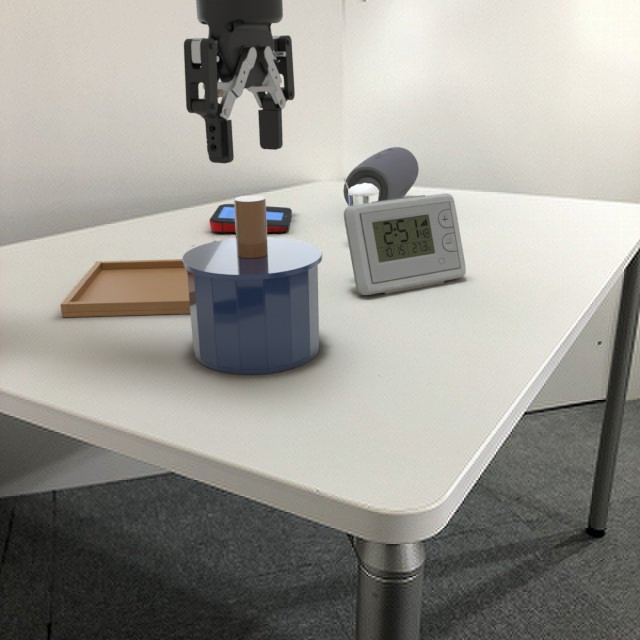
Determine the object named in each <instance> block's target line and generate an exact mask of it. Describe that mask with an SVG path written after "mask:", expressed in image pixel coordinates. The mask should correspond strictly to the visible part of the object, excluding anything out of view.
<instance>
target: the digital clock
mask: <svg viewBox="0 0 640 640" xmlns="http://www.w3.org/2000/svg"><path fill="white" fill-rule="evenodd" d="M343 220H344V227H345V233H346V239H347V244H348V249H349V255H350V260H351V266H352V273H353V278H354V283H355V288H356V290H357V293H358V294H360V295H362V296H371V295H377V294H381V293H382V294H383V295H388V294H393V293H399V292H405V291H410V290H416V289H420V288H426V287H431V286H437V285H441V284H445V281H451V280H455V279H460V278H463V277H464V276H465V275H466V271H467V268H466V261H465V260H466V259H465V254H464V248H463V242H462V235H461V232H460V226H459V219H458V214H457V208H456V204H455V198H454V197H453V195H452V194H450V193H437V194H430V195H425V194H423V195H421V194H420V195H414V196H406V197H403V198H398V199H390V200H382V201H374V202H371V203H367V204H359V205H352V206H347V207H346V208H345V209H344V211H343Z"/></svg>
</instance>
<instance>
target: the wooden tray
mask: <svg viewBox="0 0 640 640" xmlns="http://www.w3.org/2000/svg"><path fill="white" fill-rule="evenodd" d="M60 311H61V317H62V318H84V317H85V318H86V317H87V318H88V317H119V316H121V317H122V316H124V317H125V316H155V315H156V316H157V315H189V314H190V315H191V313H190V301H189V288H188V276H187V270H186V269H185V268H184V267H183V264H182V258H181V259H180V258H179V259H176V258H175V259H143V260H142V259H141V260H139V259H138V260H103V261H102V260H100V261H99V260H97V261H95V262H94V264H93V265H92V266H91V267H90V268H89V269H88V271H87V272H86V273H85V274H84V275H83V277H81V279H80V280H79V282H78V283H77V284H76V285H75V286H74V287H73V289H72V290H71V291H70V292H69V293H68V294H67V296H66V297H65V298H64V299H63V301H62V302H61V303H60Z"/></svg>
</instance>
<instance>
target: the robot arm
mask: <svg viewBox="0 0 640 640" xmlns="http://www.w3.org/2000/svg"><path fill="white" fill-rule="evenodd" d="M283 4H284V3H283V0H195V5H196V7H195V8H196V18H197V21H198V22H199V23H200V24H201V25H206V26H207V27H208V36H207V38H205V37H194V38H186V39H185V40H184V42H183V61H184V84H185V85H184V86H185V107H186V110H187V112H188V113H189V114H196V115H199V116H200V118H202V119H203V120H204V124H205V125H204V126H205V138H206V152H207V154H208V159H209V162H211V163H213V164H229V163H232V162H233V161H234V157H235V156H234V155H235V154H234V139H233V138H234V137H233V122H232V119H229V118H230V116H231V113H232V110H233V108H234V105H235V102H236V100H237V99H238V98H241V96H242V95H243V93H244V89H246V90H247V91H248V92H250V93H251V94H252V95H253V97H254V99H255V101H256V103H257V105H258V107H259V109H258V110H257V115H258V136H259V146H260V148H261V149H262V150H270V151H271V150H274V151H277V150H280V149H282V148H283V145H284V143H283V111H282V110H284V109H285V107H286V105H287V102H288V101H293V100H294V99H295V95H296V92H295V91H296V90H295V73H294V58H293V39H292V37H291V35H289V34H288V35H287V34H286V35H283V34H282V35H273V34H272V25H273V24H279V23H281V22H282V21H283V19H284V18H283V17H284V9H283ZM281 75H282V77H283V78H282V77H281ZM282 79H283V80H282ZM282 82H283V86H281V84H282ZM200 84H202V89H203V90H204V94H203V97H202V98H200V91H199V90H200V89H199V86H200ZM219 98H221V100H220V102H219Z"/></svg>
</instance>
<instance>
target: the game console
mask: <svg viewBox="0 0 640 640" xmlns="http://www.w3.org/2000/svg"><path fill="white" fill-rule="evenodd" d="M292 215H293V211H292V208H291V207H283V206H269V205H268V206H267V205H266V220H267V234H268V233H271V234H273V233H286V232H287V231H288V229H289V226H290V222H291V217H292ZM209 226H210V229H211V230H212V231H213V232H215V233H223V234H224V233H227V234H232V233H233V234H236V226H235V209H234V203H224V204H220V205H218V207H217V208H216V209H215V211H214V212H213V214H212V215H211V216H210V218H209Z"/></svg>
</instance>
